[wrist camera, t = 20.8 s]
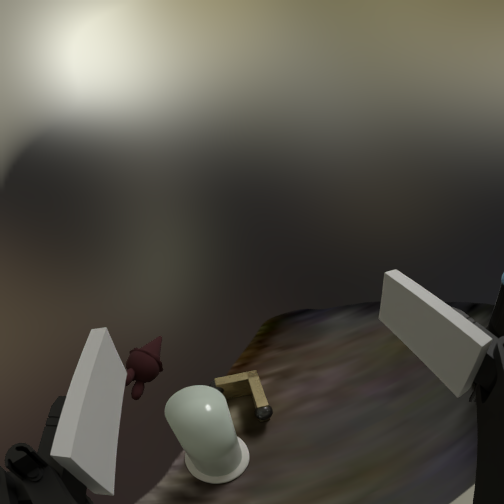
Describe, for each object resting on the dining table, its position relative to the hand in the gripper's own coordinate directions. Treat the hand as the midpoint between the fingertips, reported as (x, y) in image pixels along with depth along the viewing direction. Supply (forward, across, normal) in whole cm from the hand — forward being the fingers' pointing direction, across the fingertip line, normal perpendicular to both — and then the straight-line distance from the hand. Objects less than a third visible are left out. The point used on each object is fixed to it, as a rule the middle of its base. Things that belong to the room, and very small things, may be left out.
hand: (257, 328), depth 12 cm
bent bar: (+19, -1, -30) cm, 36 cm away
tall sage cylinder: (+11, -6, -29) cm, 32 cm away
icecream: (+31, -17, -30) cm, 46 cm away
